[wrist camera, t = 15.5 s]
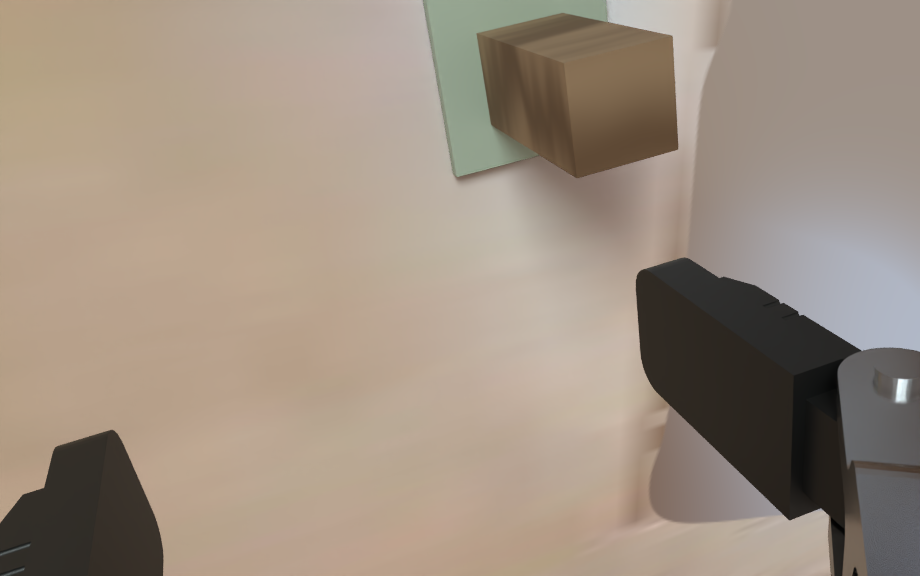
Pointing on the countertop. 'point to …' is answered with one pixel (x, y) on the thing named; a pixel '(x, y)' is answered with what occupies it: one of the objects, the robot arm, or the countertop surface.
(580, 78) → the walnut block
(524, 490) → the countertop surface
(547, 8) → the coaster
